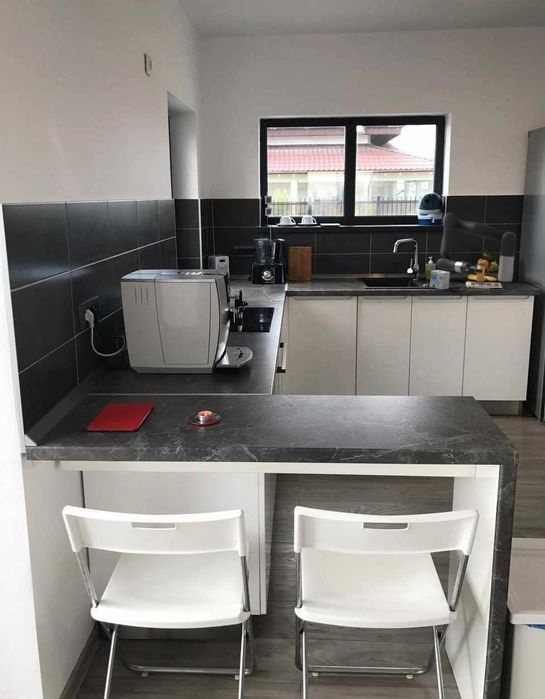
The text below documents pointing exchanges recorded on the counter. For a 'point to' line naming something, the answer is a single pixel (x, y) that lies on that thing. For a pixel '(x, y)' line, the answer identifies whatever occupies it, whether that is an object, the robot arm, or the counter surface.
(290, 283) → the counter surface
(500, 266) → the robot arm
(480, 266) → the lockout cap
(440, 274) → the light bulb box
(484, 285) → the breaker board
